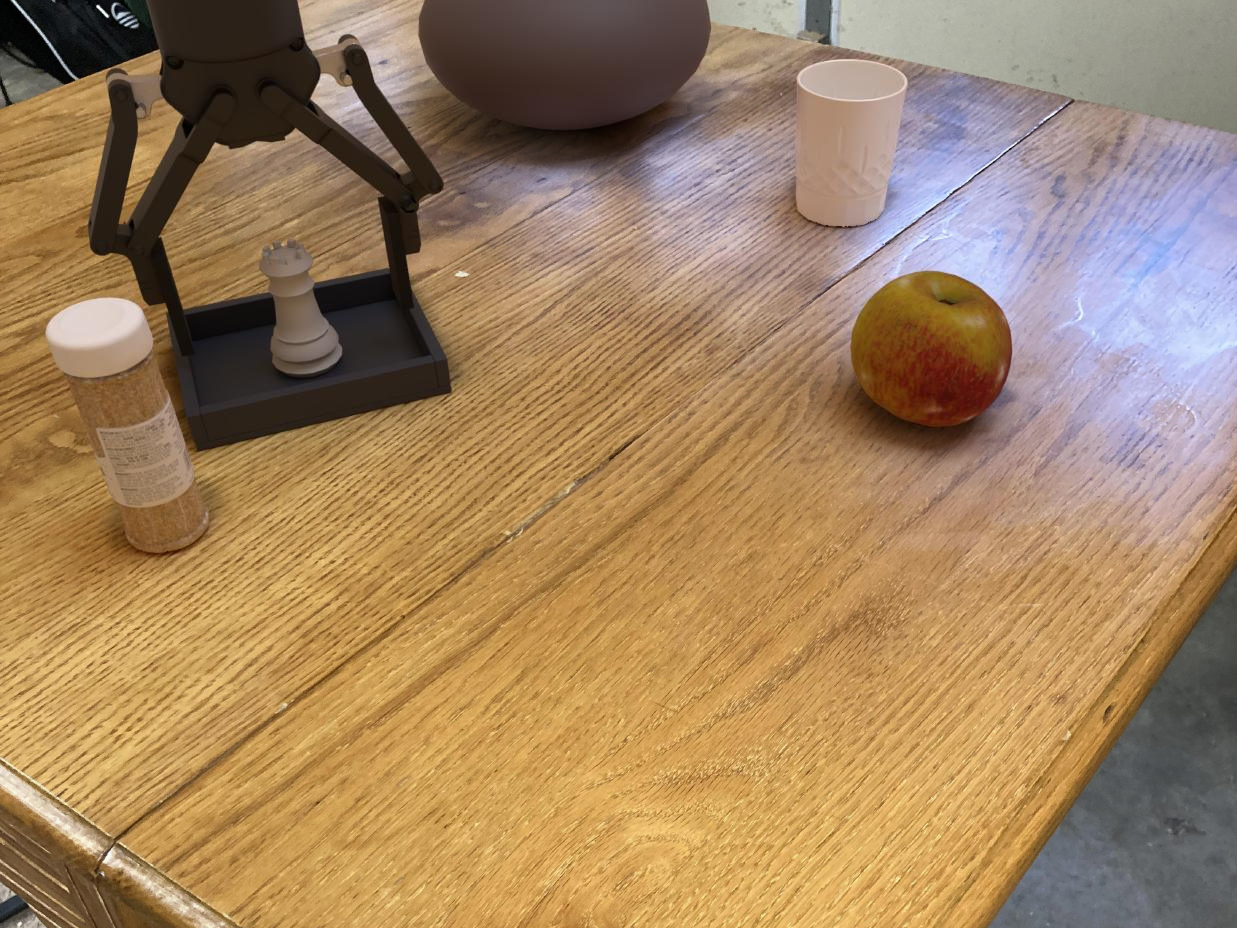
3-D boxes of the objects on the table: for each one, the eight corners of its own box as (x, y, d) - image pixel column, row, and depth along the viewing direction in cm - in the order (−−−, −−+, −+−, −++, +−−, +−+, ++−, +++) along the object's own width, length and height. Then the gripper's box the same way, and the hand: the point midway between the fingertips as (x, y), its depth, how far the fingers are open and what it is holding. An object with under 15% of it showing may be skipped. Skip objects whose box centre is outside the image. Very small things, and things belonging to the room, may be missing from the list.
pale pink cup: (780, 226, 92) (789, 96, 85) (795, 181, 97) (804, 55, 91) (886, 236, 90) (903, 104, 84) (895, 190, 96) (911, 63, 89)
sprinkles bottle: (133, 508, 68) (52, 298, 59) (216, 498, 69) (148, 289, 60) (121, 563, 65) (33, 349, 56) (209, 551, 65) (136, 338, 56)
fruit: (1033, 419, 73) (1061, 303, 67) (918, 471, 69) (938, 352, 64) (924, 346, 79) (943, 234, 74) (814, 390, 76) (825, 276, 70)
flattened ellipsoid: (518, 47, 121) (504, -118, 111) (751, 84, 113) (758, -90, 103) (374, 141, 105) (343, -42, 95) (634, 194, 96) (630, -1, 86)
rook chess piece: (269, 350, 79) (240, 239, 74) (337, 336, 80) (313, 226, 75) (278, 387, 76) (249, 273, 71) (349, 371, 77) (326, 259, 72)
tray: (197, 451, 72) (186, 417, 70) (175, 345, 81) (165, 312, 79) (452, 392, 76) (447, 358, 74) (405, 297, 85) (399, 265, 83)
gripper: (-51, 21, 56) (92, 397, 70) (469, -47, 63) (505, 309, 77) (-47, -26, 61) (85, 333, 75) (433, -84, 68) (472, 255, 82)
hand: (297, 321), depth 76 cm, fingers open, 13 cm apart
